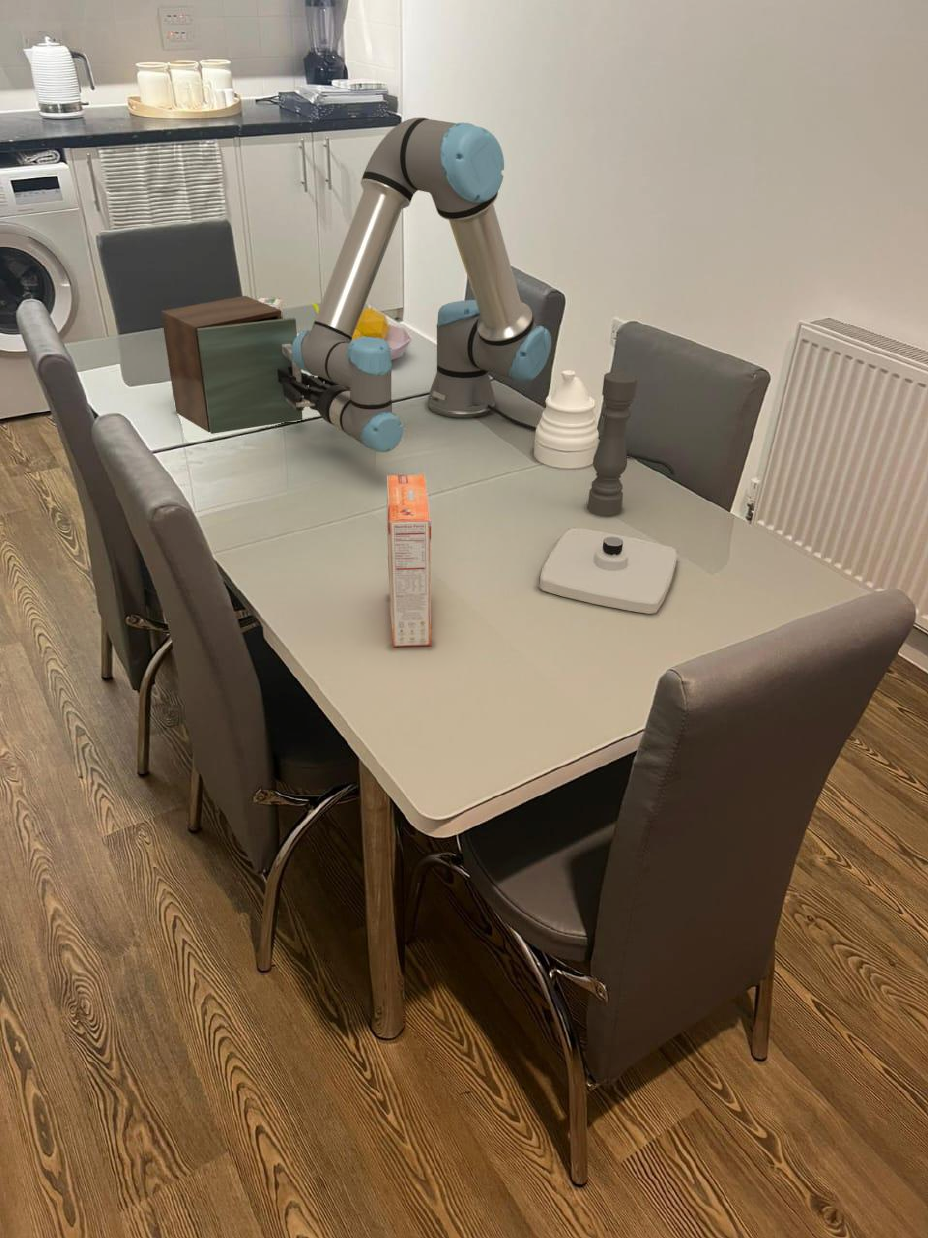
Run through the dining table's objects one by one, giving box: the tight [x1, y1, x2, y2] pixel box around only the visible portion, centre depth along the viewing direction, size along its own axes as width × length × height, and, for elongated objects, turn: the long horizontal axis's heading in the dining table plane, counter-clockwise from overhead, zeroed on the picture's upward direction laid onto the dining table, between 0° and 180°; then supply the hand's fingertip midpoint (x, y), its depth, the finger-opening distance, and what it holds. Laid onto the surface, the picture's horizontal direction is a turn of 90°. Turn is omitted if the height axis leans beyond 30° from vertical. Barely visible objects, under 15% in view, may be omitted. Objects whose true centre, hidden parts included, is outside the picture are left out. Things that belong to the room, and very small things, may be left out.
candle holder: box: [587, 370, 638, 518], centre depth 165 cm, size 6×6×25 cm
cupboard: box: [160, 295, 282, 433], centre depth 200 cm, size 14×20×22 cm
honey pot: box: [533, 369, 600, 470], centre depth 187 cm, size 13×13×18 cm
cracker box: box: [386, 474, 432, 648], centre depth 134 cm, size 14×6×21 cm, turn 5°
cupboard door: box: [197, 317, 305, 435], centre depth 191 cm, size 8×20×22 cm, turn 118°
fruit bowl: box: [311, 302, 413, 361], centre depth 235 cm, size 28×27×11 cm
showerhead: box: [539, 527, 678, 615], centre depth 151 cm, size 20×6×20 cm
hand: (285, 374), depth 195 cm, fingers closed on cupboard door, 2 cm apart
